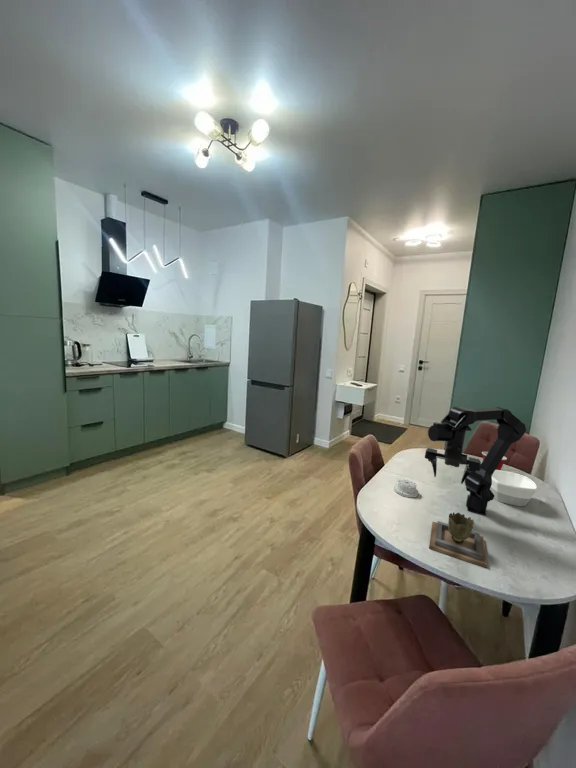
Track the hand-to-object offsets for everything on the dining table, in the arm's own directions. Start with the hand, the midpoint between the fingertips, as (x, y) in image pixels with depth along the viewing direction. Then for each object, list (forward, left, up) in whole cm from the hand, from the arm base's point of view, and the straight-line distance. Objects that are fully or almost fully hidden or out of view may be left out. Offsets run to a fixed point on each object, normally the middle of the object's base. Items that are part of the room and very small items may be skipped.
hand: (448, 480), depth 127 cm
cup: (-5, +20, -12) cm, 24 cm away
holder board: (-5, +20, -13) cm, 24 cm away
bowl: (-25, -30, -13) cm, 41 cm away
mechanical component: (+15, -8, -14) cm, 22 cm away
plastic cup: (-20, -52, -13) cm, 57 cm away
